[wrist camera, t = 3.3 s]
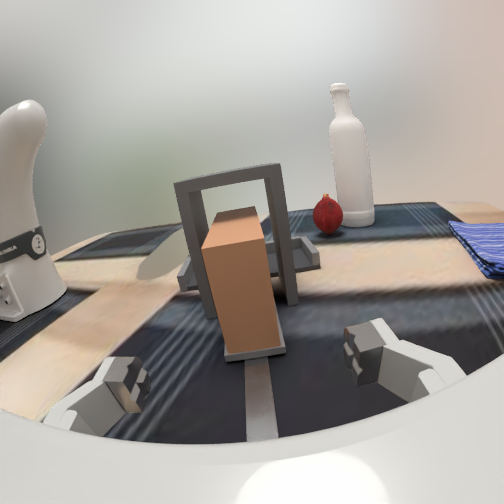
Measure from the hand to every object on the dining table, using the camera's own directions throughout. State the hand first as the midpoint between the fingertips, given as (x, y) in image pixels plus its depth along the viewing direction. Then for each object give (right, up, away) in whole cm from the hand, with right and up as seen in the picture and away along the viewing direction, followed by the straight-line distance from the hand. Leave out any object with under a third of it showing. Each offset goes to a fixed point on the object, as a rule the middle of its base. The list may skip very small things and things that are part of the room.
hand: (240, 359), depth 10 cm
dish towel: (+42, +4, +21) cm, 47 cm away
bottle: (+23, +10, +47) cm, 53 cm away
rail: (+1, -5, +14) cm, 15 cm away
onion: (+15, +7, +42) cm, 45 cm away
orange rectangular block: (+1, -3, +19) cm, 20 cm away
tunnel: (0, -1, +24) cm, 24 cm away
